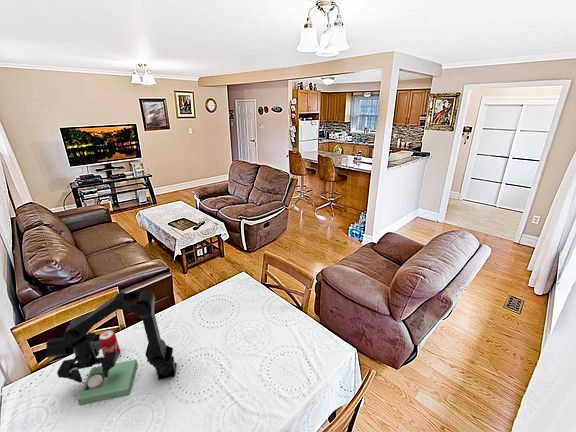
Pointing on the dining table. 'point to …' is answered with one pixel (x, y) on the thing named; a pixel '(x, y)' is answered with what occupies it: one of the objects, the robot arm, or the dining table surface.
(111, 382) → the green shape sorter board
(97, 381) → the ball
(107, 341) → the beverage can
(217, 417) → the dining table surface
